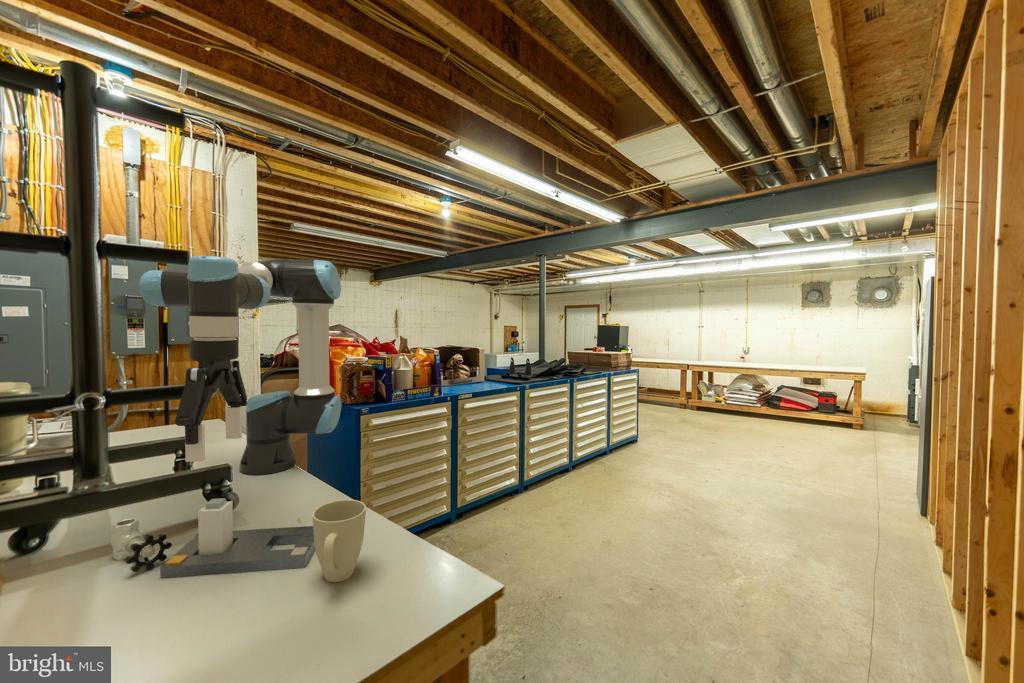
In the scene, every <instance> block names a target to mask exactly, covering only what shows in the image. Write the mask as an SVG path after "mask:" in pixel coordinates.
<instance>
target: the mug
mask: <svg viewBox="0 0 1024 683" xmlns="http://www.w3.org/2000/svg"><path fill="white" fill-rule="evenodd" d="M366 511H367V507H366V503H364V502H362V501H360V500H357V499H339V500H333V501H331V502H326V503H324V504H322V505H320V506H318V507H317V508H316V509H315V510H314V511H313V512H312V526H313V530H314V543H315V550H314V551H315V554H316V557H317V560H318V563H319V565H320V568H321V571H322V573H323V576H324V578H325V579H324V580H326V581H327V582H329V583H339V582H343V581H345V580H347V579H349V578H351V576H353V574H354V572H355V568H356V565H357V562H358V559H359V557H360V553H361V551H362V546H363V542H364V535H365V523H366Z"/></svg>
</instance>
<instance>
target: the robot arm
mask: <svg viewBox="0 0 1024 683" xmlns="http://www.w3.org/2000/svg"><path fill="white" fill-rule="evenodd" d="M187 268H188V269H186V270H185V269H184V270H166V269H159V270H158V269H156V270H148V271H146V272H145V273H143V275H142V276H141V277H140V279H139V282H138V283H139V284H138V287H139V294H140V296H141V298H142V299H143V301H145V303H147V304H148V305H151V306H154V307H165V308H170V307H173V308H174V307H176V308H189V311H188V316H189V321H188V322H187V325H188V327H189V337H190V338H193V339H192V340H190V342H189V359H190V361H195V362H197V363H198V365H197V367H195V368H194V367H191V368H189V367H188V368H187V369H186V371H185V372H186V373H185V381H184V382H185V383H184V387H183V390H182V393H181V398H180V401H179V404H178V408H177V411H176V412H177V413H176V417H175V420H174V424H175V425H176V426H178V427H184V441H185V442H184V443H185V444H184V445H185V446H184V447H185V449H184V450H185V452H184V453H185V462H186V463H191V462H193V463H194V462H197V463H198V462H204V461H206V433H205V432H206V431H205V430H206V427H205V425H206V424H205V423H202V422H203V419H204V417H205V414H206V411H207V409H208V407H209V404H210V402H211V399H212V397H213V394H214V393H216V392H217V391H218V390H219V392H220V393H221V396H222V397H223V399H224V401H225V402H226V405H227V406H226V407H225V413H224V414H225V439H227V440H229V439H237V440H238V439H242V437H243V429H242V428H243V427H242V426H243V425H242V422H243V421H242V419H243V417H242V413H243V412H242V407H246V409H245V414H246V415H245V416H246V421H245V422H246V424H245V425H246V445H245V447H244V450H243V454H242V456H241V459H240V461H239V472H240V473H242V474H244V475H251V476H252V475H253V476H257V475H258V476H259V475H269V474H270V475H271V474H276V473H280V472H283V471H285V470H288V469H291V468H293V467H294V466H295V465H296V463H297V455H296V453H295V450H294V448H293V445H292V442H291V435H292V434H293V435H296V434H304V435H305V434H311V435H312V434H315V435H319V434H330V433H332V432H333V431H334V430H335V428H336V427H337V425H338V423H339V420H340V417H341V411H342V398H341V397H340V396H338V395H335V393H336V392H335V388H333V387H332V386H331V385H330V314H329V313H330V309H332V307H334V306H335V300H337V299H340V297H341V291H342V287H341V286H342V285H341V280H340V275H339V273H338V270H337V267H336V266H335V265H334V264H333V263H332V262H331V261H327V260H321V259H297V258H296V259H293V258H292V259H291V258H274V259H266V260H265V259H264V260H259V261H251V262H246V263H243V264H242V265H241V266H238V263H237V262H236V260H235V259H233V258H230V257H223V256H213V255H194V256H192V257H190V258H189V260H188V267H187ZM271 297H277V298H278V297H279V298H292V302H291V303H292V305H293V306H294V307H295V308H296V309H297V318H298V319H297V320H298V322H297V324H298V326H297V328H298V330H297V331H298V387H297V389H295V390H294V391H293V396H292V394H291V392H290V391H289V390H279V391H272V392H265V393H260V394H255V395H253V396H250V397H249V398H248V396H247V392H246V389H245V384H244V382H243V378H242V374H241V370H240V361H239V360H236V359H238V358H239V341H238V339H236V338H238V337H239V335H240V334H239V331H240V330H239V313H238V312H239V309H243V310H250V311H251V310H255V309H260V308H263V307H264V306H265V305H267V303H269V300H270V299H271ZM293 465H294V466H293Z"/></svg>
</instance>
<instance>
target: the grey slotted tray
mask: <svg viewBox="0 0 1024 683" xmlns="http://www.w3.org/2000/svg"><path fill="white" fill-rule="evenodd" d="M281 545H282V546H283V545H294V546H293V548H287V549H285V548H284V549H272V548H273V546H281ZM271 549H272V550H271ZM315 551H316V550H315V543H314V530H313V525H309V526H307V525H306V526H292V527H290V526H289V527H275V528H258V529H257V528H256V529H255V528H253V529H241V530H233V545H232V546H231V547H230V548H229V549H228V550H227V551H226V552H225V553H224V554H209V555H199V533H198V534H196V535H194V537H193V538H192V539H191V540H190V541H188V542H187V543H186V544H185V545H184V546H182V547H181V549H179V550H178V551H177V552H176V553H175V554H174V555H172V556H171V557H170V558H168V560H167V561H165V562H164V563H163V564H162V565H161V566H160V567H159V570H160V571H159V572H160V573H159V575H160V576H159V577H160V579H166V578H168V579H169V578H181V577H194V576H209V575H220V574H223V575H224V574H232V573H235V574H237V573H246V572H247V573H249V572H261V571H273V570H286V569H287V570H288V569H299V568H300V569H301V568H306V567H307V565H308V563H309V561H310V560H311V558H312V556H313V554H314V553H315Z"/></svg>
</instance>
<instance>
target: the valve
mask: <svg viewBox="0 0 1024 683" xmlns="http://www.w3.org/2000/svg"><path fill="white" fill-rule="evenodd" d="M139 528H140V520H139V519H138V518H136V517H130V518H124V519H121V520H118V521H116V522H114V523H113V524H112V525H111V531H112V532H111V533H112V534H113V535H112V537H111V540H110V546H111V548H112V558H113V559H114V560H116V561H122V560H124V562H125V563H126V564H127V565H130V564H133V563H134V565H133V566H131V567H130V571H131V572H133V573H138V572H139V571H141V568H143V567H144V570H146V571H147V572H149V571H152V570H153V569H154V567H155V565H154V564H155V563H156V562H157V561H160V562H164V561H166V559H167V558H168V556H167V554H165V552H164V551H166V550H168V549H170V548H172V547H173V546H172V545H173V544H172V542H171V541H168V540H167V541H165V540H166V539H167V535H166V534H165V533H159V534H158V537H157V538H155V536H154V535H153V534H151V533H147V534H145V535H144V536H143V535H141V534H142V533H141V531H140V529H139ZM164 541H165V543H164ZM156 545H158V546H159V549H158V552H157V554H156V555H155V553H156V548H155V547H154V546H156ZM153 555H155V556H154V557H153V558H151V557H152V556H153ZM139 556H141V557H142V558H143V561H141V560H139ZM149 558H151V559H149Z"/></svg>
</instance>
